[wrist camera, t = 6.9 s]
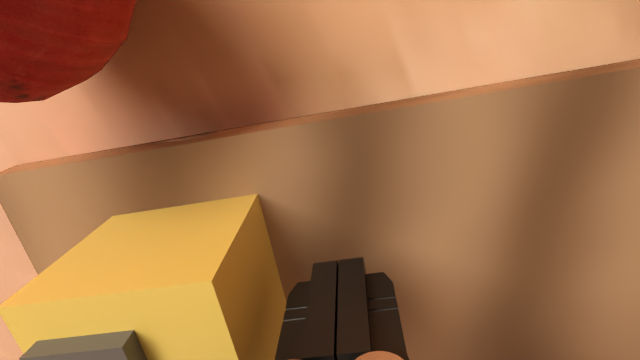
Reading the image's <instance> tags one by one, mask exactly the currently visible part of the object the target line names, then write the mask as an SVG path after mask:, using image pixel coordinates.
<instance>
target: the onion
mask: <svg viewBox="0 0 640 360" xmlns="http://www.w3.org/2000/svg"><path fill="white" fill-rule="evenodd" d="M135 3H136V0H0V102H9V103H20V102H30V101H40V100H45V99H48V98H50V97H52V96H54V95H56V94H58V93H60V92H62V91H64V90H66V89H69V88H71V87H73V86H75V85H77V84H79V83H81V82H83V81H85V80H87V79H89V78H90V77H92V76H93V75H94V74H96V73H97V72H99V71H100V70H102V68H103V67H104V66H105V65H106V63H107V62H108V61H109V60H110V59H111V57H112V56H113V55H114V54H115V52H116V51H117V50H118V49H119V47H120V46H121V45H122V44H123V42H124V41H125V40H126V39H127V35H128V31H129V27H130V23H131V19H132V15H133V11H134V7H135Z"/></svg>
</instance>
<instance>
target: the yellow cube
mask: <svg viewBox="0 0 640 360" xmlns="http://www.w3.org/2000/svg"><path fill="white" fill-rule="evenodd" d="M285 311H286V299H285V295H284V292H283V288H282V284H281V280H280V276H279V273H278V269H277V265H276V261H275V258H274V254H273V250H272V246H271V243H270V239H269V235H268V231H267V227H266V224H265V220H264V216H263V212H262V209H261V205H260V201H259V197H258V194H254V195H248V196H241V197H234V198H228V199H221V200H215V201H208V202H202V203H195V204H189V205H182V206H176V207H169V208H162V209H156V210H149V211H143V212H136V213H130V214H123V215H117V216H112V217H111V218H110V219H108V220H107V221H106V222H105V223H103V224H102V225H101V226H99V227H98V228H97V229H96V230H94V231H93V232H92V233H91V234H89V235H88V236H87V237H86V238H84V239H83V240H82V241H81V242H79V243H78V244H77V245H76V246H74V247H73V248H72V249H70V250H69V251H68V252H67V253H65V254H64V255H63V256H62V257H60V258H59V259H58V260H57V261H55V262H54V263H53V264H52V265H50V266H49V267H48V268H46V269H45V270H44V271H43V272H41V273H40V274H39V275H38V276H36V277H35V278H34V279H33V280H31V281H30V282H29V283H28V284H26V285H25V286H24V287H23V288H21V289H20V290H19V291H17V292H16V293H15V294H14V295H12V296H11V297H10V298H9V299H7V300H6V301H5V302H4V303H2V304H1V305H0V315H1V317H2V318H3V320H4V322H5V323H6V325H7V327H8V328H9V330H10V332H11V333H12V335H13V337H14V338H15V340H16V342H17V343H18V345H19V347H20V348H21V350H22V352H23V353H24V354H23V355H22V356H21V357H20V358H19V359H20V360H275V355H276V350H277V346H278V341H279V336H280V332H281V327H282V322H283V318H284V313H285Z"/></svg>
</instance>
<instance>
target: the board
mask: <svg viewBox="0 0 640 360" xmlns="http://www.w3.org/2000/svg"><path fill="white" fill-rule="evenodd" d="M254 194H258V197H259V201H260V205H261V209H262V212H263V216H264V220H265V224H266V227H267V231H268V235H269V239H270V243H271V246H272V250H273V254H274V258H275V261H276V265H277V269H278V273H279V276H280V280H281V284H282V288H283V292H284V295H285V299H286V303H287V299H288V295H289V293H290V292H291V291H292V289H293V288H294V287H295V285H296V284H297V283H298V282H306V281H311V274H312V267H313V263H320V262H327V261H335V260H338V263H339V260H342V259H350V258H358V257H363V258H364V263H365V269H366V274H370V273H379V272H384V273H385V274H386V275H387V276H388V277H389V278H390V280H391V281H392V282H393V285H394V290H395V295H396V300H397V305H398V310H399V315H400V320H401V325H402V330H403V336H404V341H405V346H406V351H407V355H408V358H409V360H640V59H637V60H631V61H626V62H620V63H614V64H608V65H602V66H596V67H590V68H585V69H579V70H573V71H567V72H561V73H555V74H549V75H544V76H538V77H532V78H526V79H520V80H514V81H508V82H503V83H497V84H491V85H485V86H479V87H473V88H467V89H462V90H456V91H450V92H444V93H438V94H432V95H426V96H421V97H415V98H409V99H403V100H397V101H391V102H385V103H380V104H374V105H368V106H362V107H356V108H350V109H344V110H339V111H333V112H327V113H321V114H315V115H309V116H303V117H298V118H292V119H286V120H280V121H274V122H268V123H262V124H257V125H251V126H245V127H239V128H233V129H227V130H221V131H216V132H210V133H204V134H198V135H192V136H186V137H180V138H175V139H169V140H163V141H157V142H151V143H145V144H139V145H134V146H128V147H122V148H116V149H110V150H104V151H98V152H93V153H87V154H81V155H75V156H69V157H63V158H57V159H52V160H46V161H40V162H34V163H28V164H22V165H16V166H14V167H12V168H9V169H7V170H4V171H2V172H0V204H1V205H2V207H3V209H4V211H5V213H6V215H7V217H8V219H9V221H10V223H11V224H12V226H13V228H14V230H15V232H16V234H17V236H18V238H19V240H20V241H21V243H22V245H23V247H24V249H25V251H26V253H27V255H28V257H29V259H30V260H31V262H32V264H33V266H34V268H35V270H36V272H37V274H38V275H39V274H40V273H41V272H43V271H44V270H45V269H46V268H48V267H49V266H50V265H52V264H53V263H54V262H55V261H57V260H58V259H59V258H60V257H62V256H63V255H64V254H65V253H67V252H68V251H69V250H70V249H72V248H73V247H74V246H76V245H77V244H78V243H79V242H81V241H82V240H83V239H84V238H86V237H87V236H88V235H89V234H91V233H92V232H93V231H94V230H96V229H97V228H98V227H99V226H101V225H102V224H103V223H105V222H106V221H107V220H108V219H110V218H111V217H112V216H117V215H123V214H130V213H136V212H143V211H149V210H156V209H162V208H169V207H176V206H182V205H189V204H195V203H202V202H208V201H215V200H221V199H228V198H234V197H241V196H248V195H254Z"/></svg>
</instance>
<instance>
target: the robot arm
mask: <svg viewBox="0 0 640 360" xmlns="http://www.w3.org/2000/svg"><path fill="white" fill-rule="evenodd" d="M275 360H409V358H408V355H407V351H406V346H405V341H404V336H403V330H402V325H401V320H400V315H399V310H398V305H397V300H396V295H395V290H394V285H393V282H392V281H391V280H390V278H389V277H388V276H387V275H386V274H385V273H384V272H379V273H370V274H366V269H365V263H364V258H363V257H358V258H350V259H342V260H339V263H338V260H335V261H327V262H320V263H313V267H312V274H311V281H306V282H298V283H297V284H296V285H295V287H294V288H293V289H292V291H291V292H290V293H289V295H288V299H287V303H286V311H285V313H284V318H283V322H282V327H281V332H280V336H279V341H278V346H277V350H276V355H275Z"/></svg>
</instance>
